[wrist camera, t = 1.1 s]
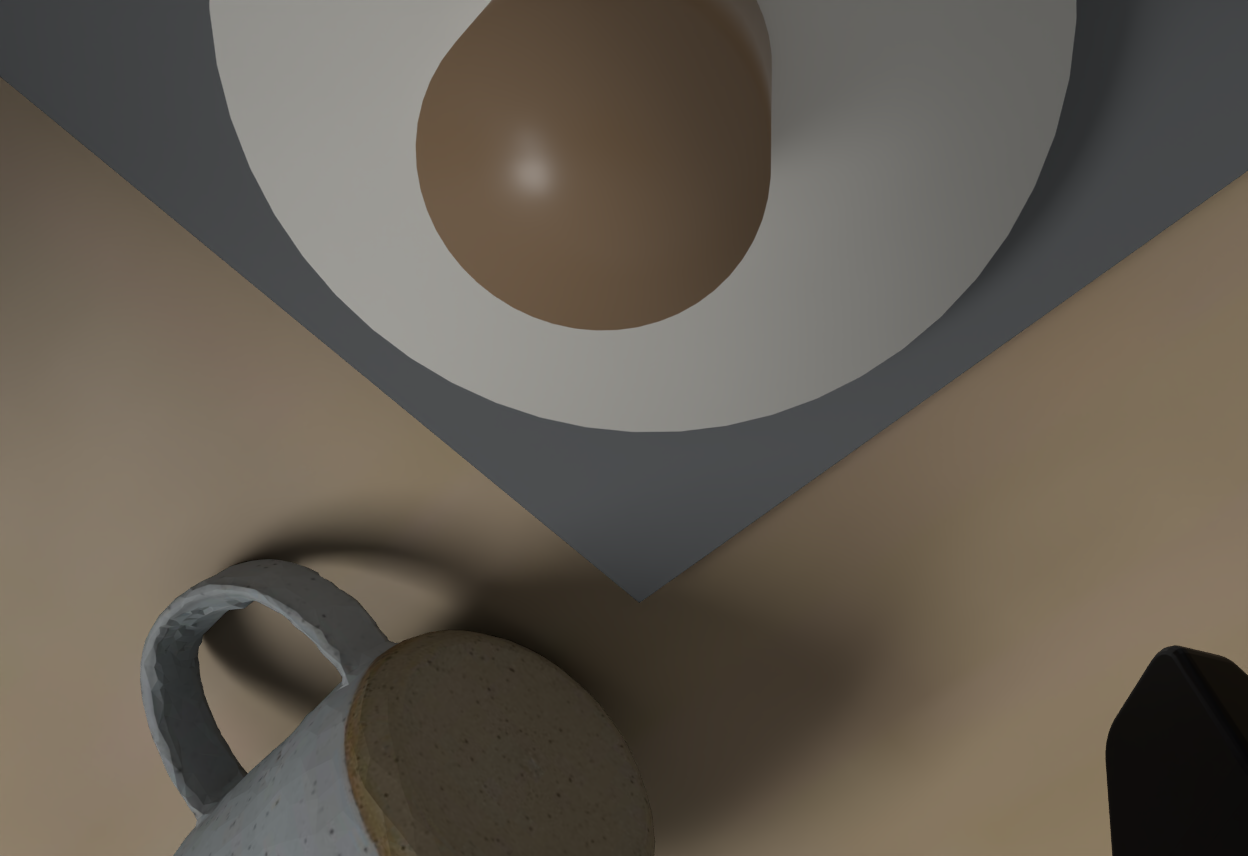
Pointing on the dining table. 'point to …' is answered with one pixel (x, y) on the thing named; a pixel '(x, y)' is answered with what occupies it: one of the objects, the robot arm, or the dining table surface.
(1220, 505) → the dining table surface
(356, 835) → the ceramic mug
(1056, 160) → the mat
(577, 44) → the lid
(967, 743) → the dining table surface
